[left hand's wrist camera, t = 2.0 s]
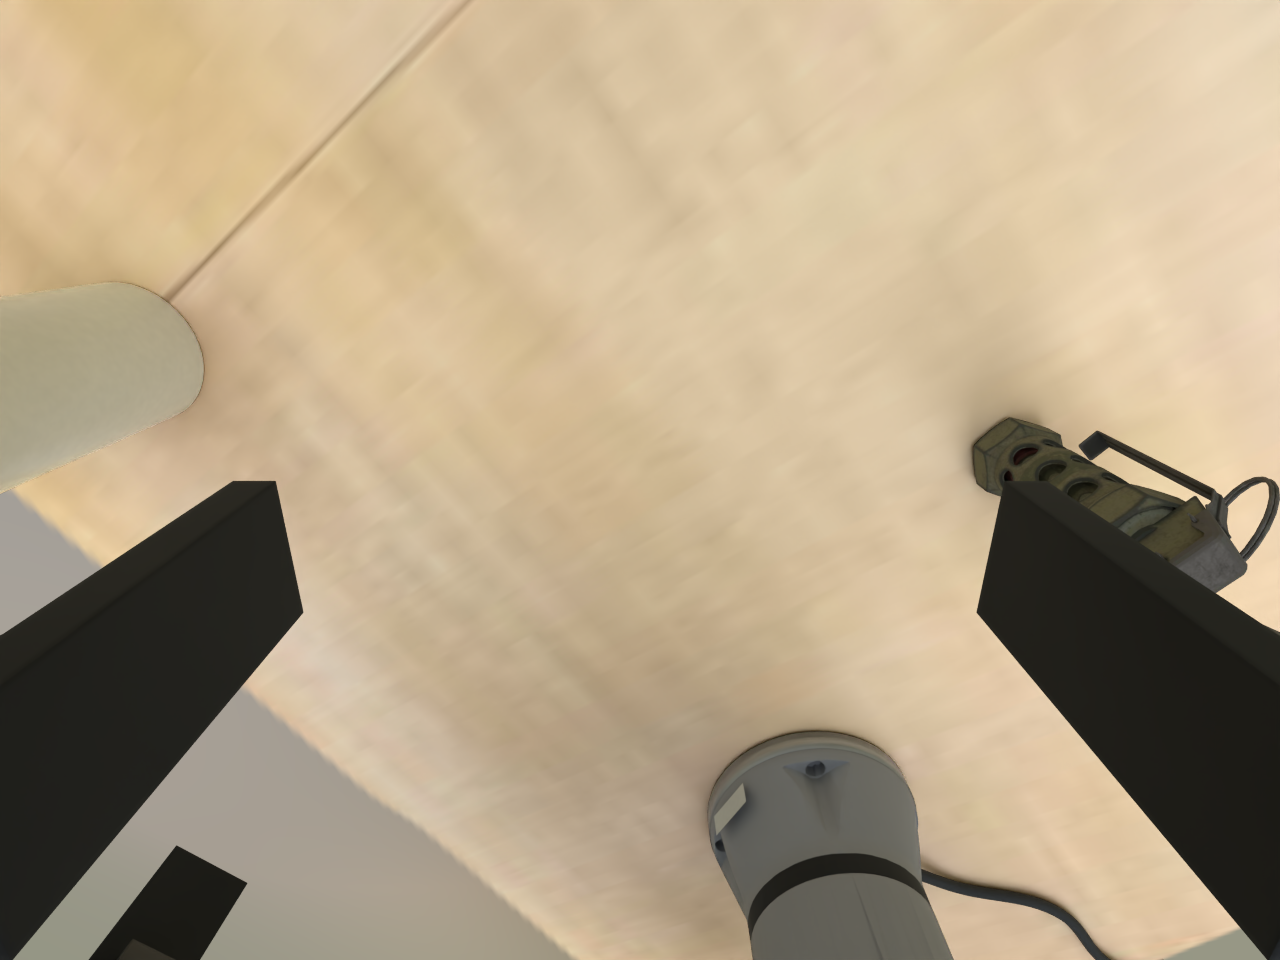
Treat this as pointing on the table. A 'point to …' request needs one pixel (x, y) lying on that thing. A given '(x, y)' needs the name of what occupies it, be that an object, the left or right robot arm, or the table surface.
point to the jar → (88, 373)
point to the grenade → (1127, 497)
